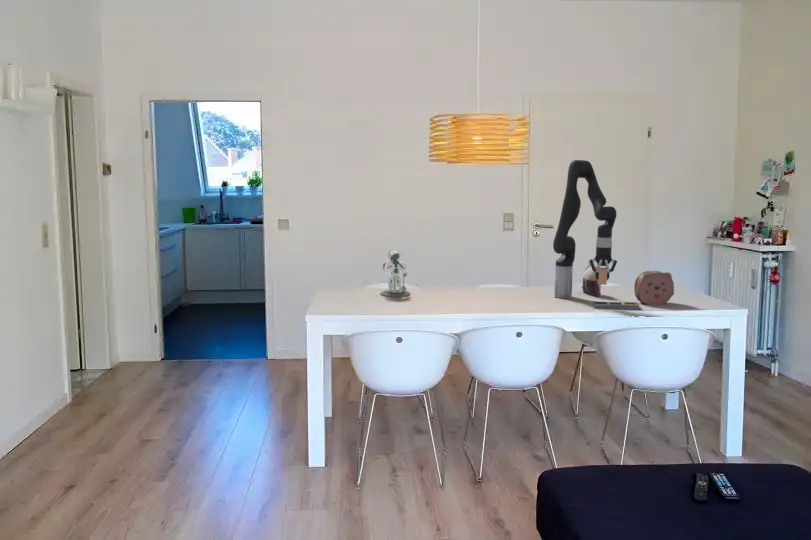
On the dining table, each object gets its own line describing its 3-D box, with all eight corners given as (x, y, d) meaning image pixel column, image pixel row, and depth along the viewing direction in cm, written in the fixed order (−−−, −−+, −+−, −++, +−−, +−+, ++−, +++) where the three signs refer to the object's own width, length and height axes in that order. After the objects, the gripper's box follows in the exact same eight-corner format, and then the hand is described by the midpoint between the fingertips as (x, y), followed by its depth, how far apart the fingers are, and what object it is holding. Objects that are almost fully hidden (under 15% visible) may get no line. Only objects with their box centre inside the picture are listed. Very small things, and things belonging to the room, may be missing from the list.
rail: (594, 308, 369) (594, 303, 369) (592, 305, 377) (592, 300, 377) (639, 309, 366) (639, 305, 366) (636, 306, 374) (636, 302, 373)
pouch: (573, 291, 419) (575, 258, 416) (586, 290, 421) (588, 257, 419) (596, 298, 395) (597, 264, 393) (609, 298, 397) (611, 263, 395)
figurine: (411, 292, 414) (411, 248, 410) (408, 297, 397) (409, 251, 393) (382, 291, 415) (382, 248, 412) (378, 296, 399) (378, 251, 395)
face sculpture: (639, 304, 379) (640, 273, 376) (632, 302, 385) (633, 271, 383) (674, 303, 382) (675, 272, 380) (666, 301, 389) (668, 270, 387)
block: (598, 284, 370) (599, 268, 368) (597, 283, 373) (598, 267, 372) (606, 284, 369) (607, 269, 368) (605, 283, 373) (606, 267, 372)
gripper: (617, 245, 371) (615, 278, 373) (588, 244, 373) (587, 277, 376) (619, 247, 363) (617, 281, 366) (590, 246, 366) (588, 280, 368)
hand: (602, 279), depth 371 cm, fingers closed on block, 4 cm apart
